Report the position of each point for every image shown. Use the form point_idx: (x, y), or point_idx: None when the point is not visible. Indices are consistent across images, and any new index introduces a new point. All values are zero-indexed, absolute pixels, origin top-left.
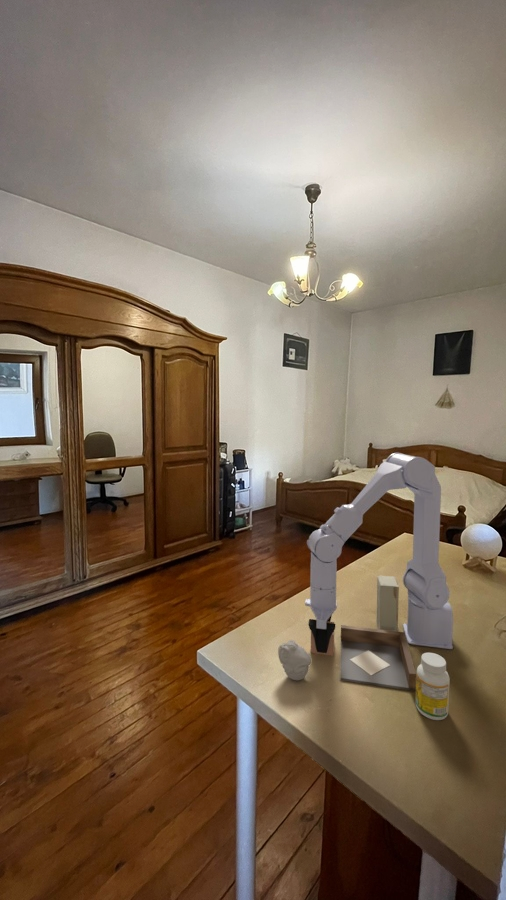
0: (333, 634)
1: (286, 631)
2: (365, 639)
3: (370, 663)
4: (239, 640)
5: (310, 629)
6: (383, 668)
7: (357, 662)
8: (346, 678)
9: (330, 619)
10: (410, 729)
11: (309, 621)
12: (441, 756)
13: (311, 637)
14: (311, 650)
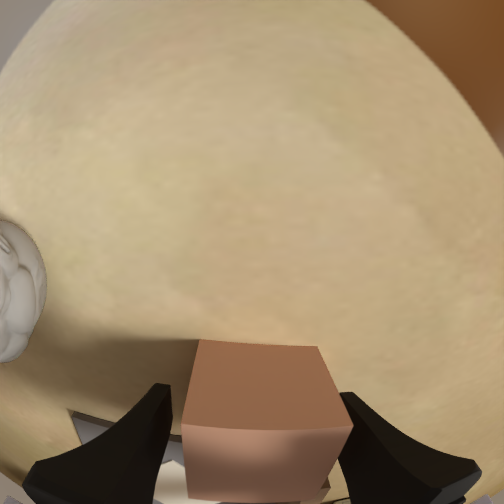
0: (188, 497)
1: (385, 201)
2: (282, 502)
3: (172, 490)
4: None
5: (42, 460)
6: (161, 502)
7: (163, 472)
8: (76, 429)
9: (346, 483)
10: (28, 462)
11: (59, 502)
12: (13, 466)
13: (186, 398)
14: (199, 348)
